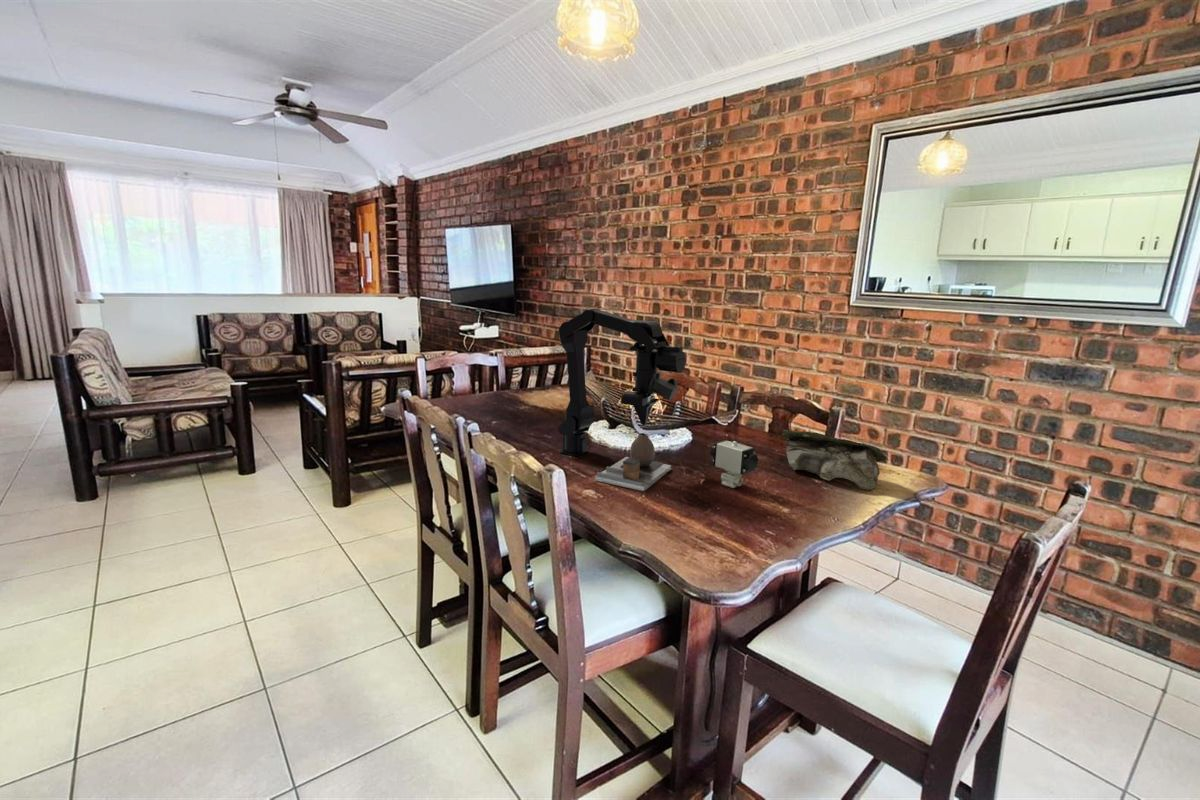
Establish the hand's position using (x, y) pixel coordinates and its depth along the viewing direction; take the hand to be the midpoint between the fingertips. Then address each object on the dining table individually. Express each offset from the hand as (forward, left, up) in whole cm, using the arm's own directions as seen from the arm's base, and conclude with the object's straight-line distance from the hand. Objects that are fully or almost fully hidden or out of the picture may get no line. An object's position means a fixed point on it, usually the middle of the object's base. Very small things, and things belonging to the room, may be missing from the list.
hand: (643, 424), depth 148 cm
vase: (0, 0, -12) cm, 12 cm away
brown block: (+2, -12, -12) cm, 17 cm away
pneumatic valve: (+25, +2, -13) cm, 28 cm away
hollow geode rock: (+46, +24, -13) cm, 53 cm away
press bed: (0, -5, -13) cm, 14 cm away
